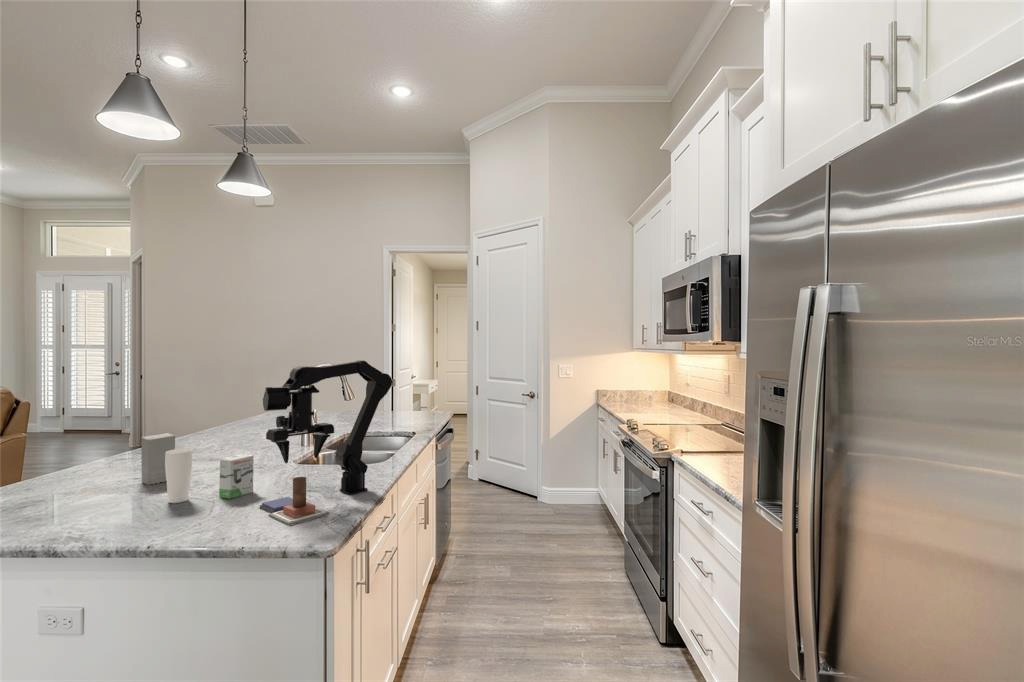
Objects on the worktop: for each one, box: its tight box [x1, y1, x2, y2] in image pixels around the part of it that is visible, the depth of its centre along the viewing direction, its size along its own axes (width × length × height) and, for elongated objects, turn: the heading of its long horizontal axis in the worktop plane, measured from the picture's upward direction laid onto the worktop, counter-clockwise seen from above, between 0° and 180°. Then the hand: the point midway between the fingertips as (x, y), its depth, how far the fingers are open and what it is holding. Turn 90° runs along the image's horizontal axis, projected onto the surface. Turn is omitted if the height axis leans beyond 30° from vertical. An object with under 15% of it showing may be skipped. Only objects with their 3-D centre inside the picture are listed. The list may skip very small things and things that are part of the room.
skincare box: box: [140, 432, 176, 486], centre depth 173 cm, size 8×7×16 cm
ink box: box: [218, 453, 255, 500], centre depth 158 cm, size 9×5×12 cm, turn 159°
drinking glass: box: [165, 448, 193, 504], centre depth 151 cm, size 7×7×15 cm
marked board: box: [268, 506, 330, 526], centre depth 139 cm, size 11×11×1 cm
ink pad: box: [259, 496, 293, 514], centre depth 145 cm, size 8×8×2 cm
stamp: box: [283, 476, 316, 518], centre depth 139 cm, size 6×6×10 cm
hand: (301, 460), depth 152 cm, fingers open, 9 cm apart
